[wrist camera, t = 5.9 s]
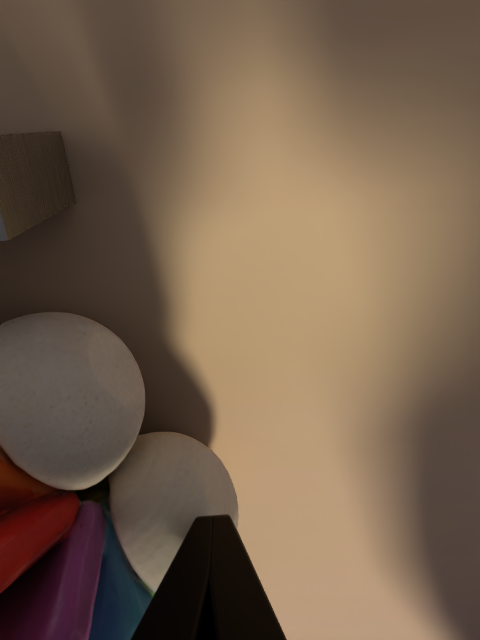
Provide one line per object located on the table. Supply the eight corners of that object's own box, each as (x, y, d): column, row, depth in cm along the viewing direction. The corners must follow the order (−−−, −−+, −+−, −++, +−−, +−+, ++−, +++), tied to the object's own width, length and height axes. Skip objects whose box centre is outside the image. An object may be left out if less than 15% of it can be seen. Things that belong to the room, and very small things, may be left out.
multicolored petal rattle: (62, 231, 10) (-218, 426, 4) (269, 492, 14) (311, 830, 7) (-184, 397, 12) (-690, 742, 5) (58, 594, 15) (-65, 948, 9)
